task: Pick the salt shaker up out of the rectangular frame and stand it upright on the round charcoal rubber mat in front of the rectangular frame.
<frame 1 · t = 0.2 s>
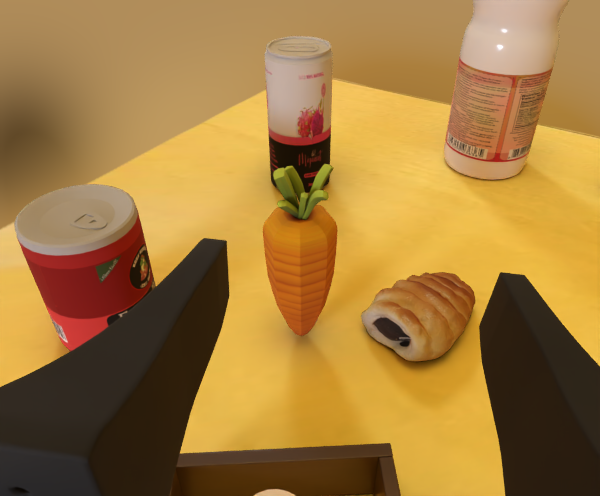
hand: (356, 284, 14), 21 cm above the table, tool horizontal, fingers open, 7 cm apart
fruit juice: (482, 163, 63), on the table
canned food: (113, 328, 42), on the table
carrot: (301, 335, 42), on the table
beverage can: (300, 183, 60), on the table
pastry: (416, 327, 42), on the table
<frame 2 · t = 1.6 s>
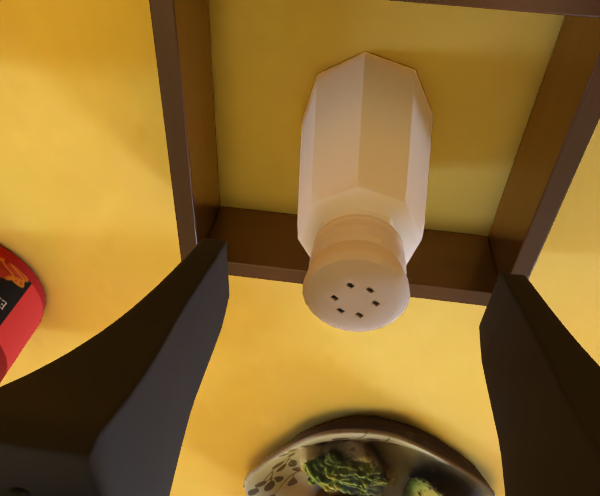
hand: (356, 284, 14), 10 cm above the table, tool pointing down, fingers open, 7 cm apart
salad plate: (374, 477, 41), on the table
salt shaker: (366, 113, 22), resting in rectangular frame
rectangular frame: (366, 115, 22), on the table
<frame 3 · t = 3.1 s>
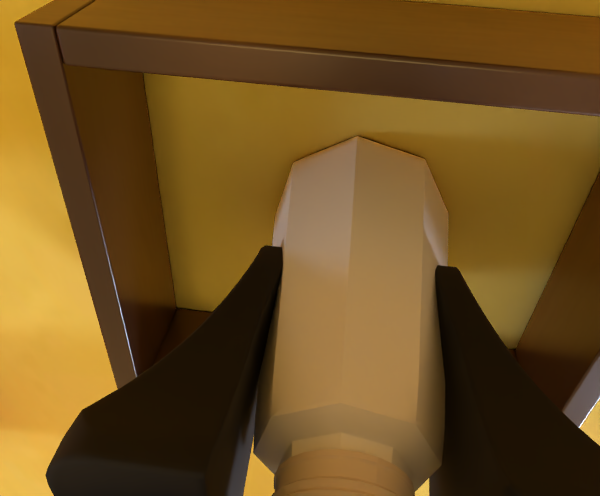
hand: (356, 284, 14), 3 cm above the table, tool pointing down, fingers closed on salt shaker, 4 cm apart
salt shaker: (360, 207, 17), resting in rectangular frame, touching gripper
rectangular frame: (359, 211, 17), on the table
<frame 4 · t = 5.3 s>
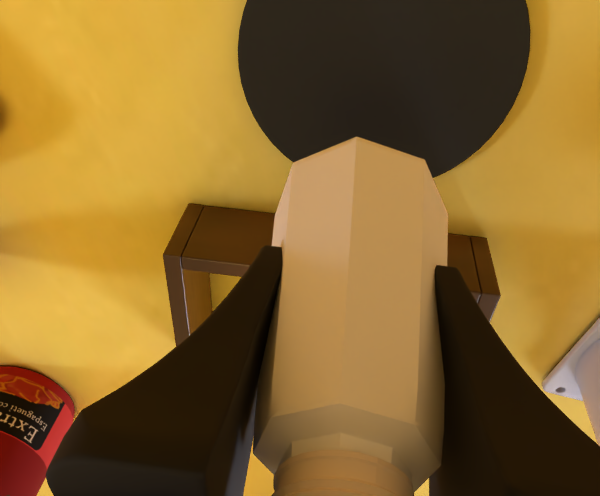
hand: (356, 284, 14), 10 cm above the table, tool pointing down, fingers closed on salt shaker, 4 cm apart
mat: (378, 64, 21), on the table
salt shaker: (359, 208, 17), point 7 cm above the table, touching gripper
canned food: (29, 394, 39), on the table
rectangular frame: (324, 310, 30), on the table
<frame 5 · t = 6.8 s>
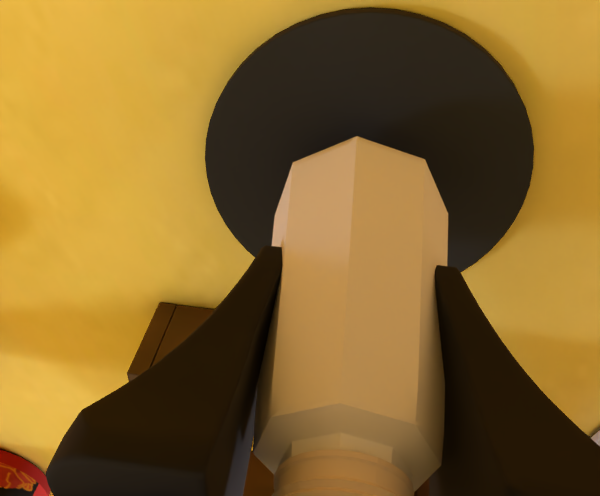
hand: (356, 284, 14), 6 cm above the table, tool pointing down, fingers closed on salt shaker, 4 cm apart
mat: (362, 174, 19), on the table
salt shaker: (359, 207, 17), point 2 cm above the table, touching gripper
canned food: (2, 470, 37), on the table
rectangular frame: (310, 404, 28), on the table
when the fingers open (4 cm above the table, at t = 7.8 s): salt shaker stays where it is, resting on mat.
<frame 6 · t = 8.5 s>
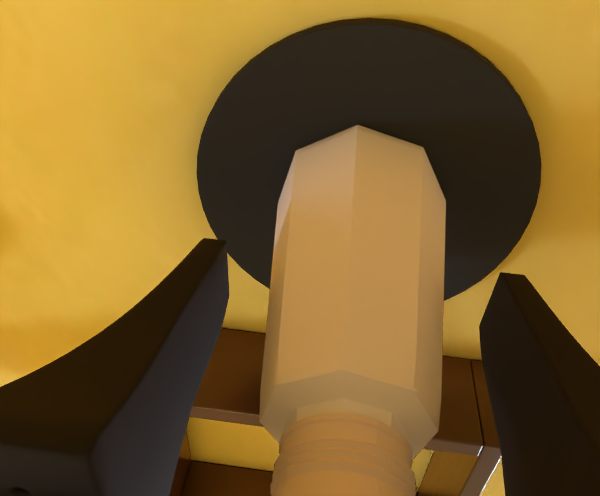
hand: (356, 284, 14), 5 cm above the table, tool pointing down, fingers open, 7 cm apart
mat: (361, 190, 18), on the table
salt shaker: (360, 195, 17), resting on mat
rectangular frame: (308, 422, 27), on the table
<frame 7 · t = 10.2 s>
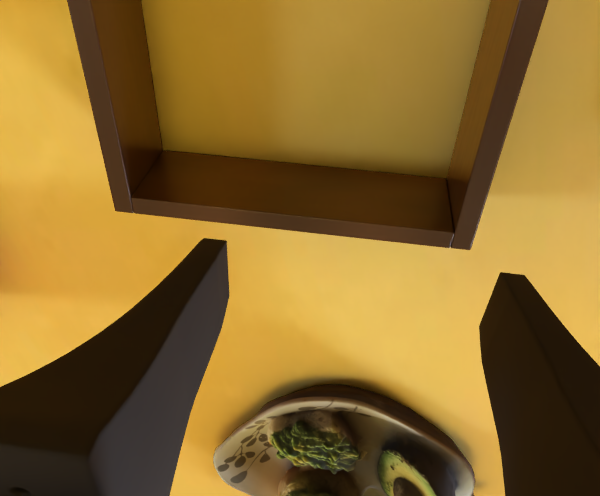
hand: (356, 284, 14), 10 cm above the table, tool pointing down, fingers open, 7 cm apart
salad plate: (348, 453, 39), on the table
rectangular frame: (306, 40, 21), on the table
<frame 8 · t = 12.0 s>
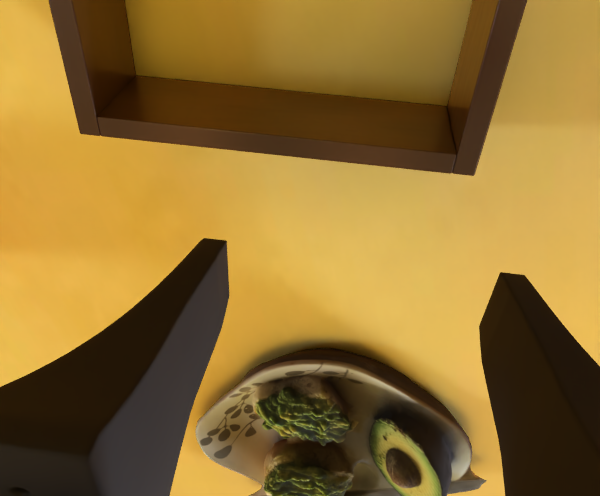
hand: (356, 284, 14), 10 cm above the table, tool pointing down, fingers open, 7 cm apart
salad plate: (338, 426, 37), on the table
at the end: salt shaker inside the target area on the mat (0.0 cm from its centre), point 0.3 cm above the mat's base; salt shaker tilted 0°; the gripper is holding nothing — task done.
